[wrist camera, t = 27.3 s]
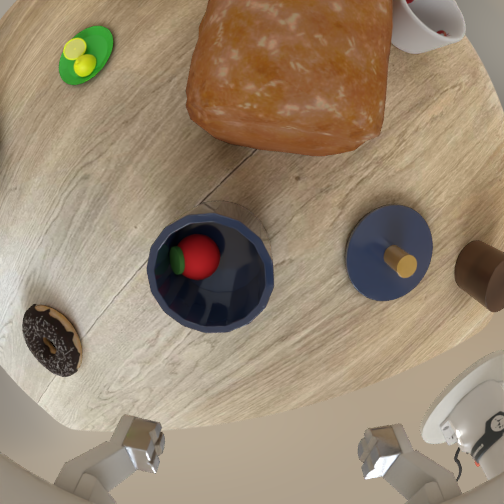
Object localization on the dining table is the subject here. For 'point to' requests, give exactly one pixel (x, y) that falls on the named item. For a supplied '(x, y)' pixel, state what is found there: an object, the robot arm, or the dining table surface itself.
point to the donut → (59, 332)
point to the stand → (482, 274)
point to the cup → (426, 24)
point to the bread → (292, 73)
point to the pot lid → (388, 252)
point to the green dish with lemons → (85, 55)
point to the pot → (224, 278)
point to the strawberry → (195, 257)
